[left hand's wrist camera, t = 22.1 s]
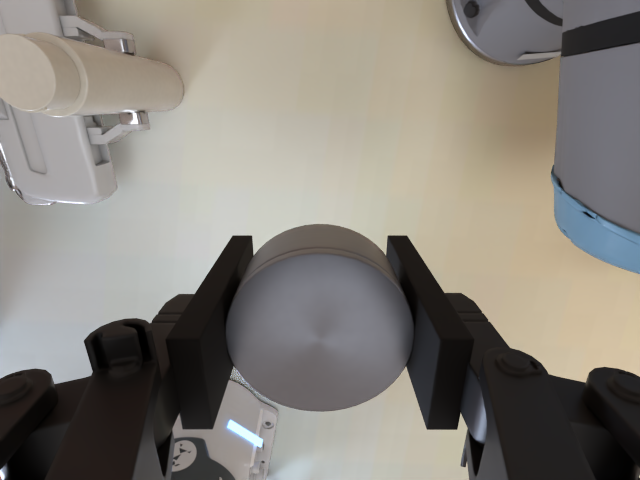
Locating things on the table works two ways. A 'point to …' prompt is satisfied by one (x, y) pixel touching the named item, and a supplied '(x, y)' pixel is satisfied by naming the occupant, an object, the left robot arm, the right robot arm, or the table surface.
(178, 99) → the white cylinder
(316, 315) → the lid
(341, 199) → the table surface
